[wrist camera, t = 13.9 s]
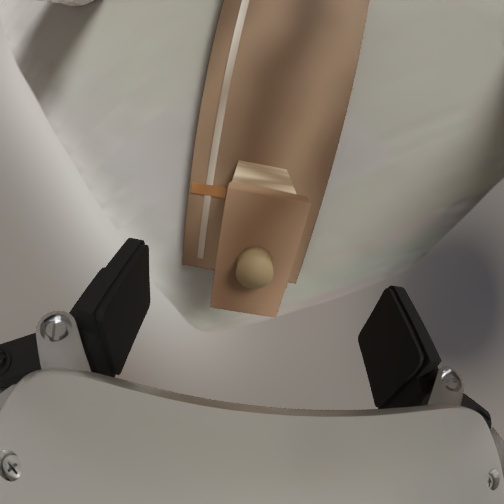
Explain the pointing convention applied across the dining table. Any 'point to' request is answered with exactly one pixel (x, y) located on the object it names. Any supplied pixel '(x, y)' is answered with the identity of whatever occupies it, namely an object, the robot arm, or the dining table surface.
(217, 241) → the marking board
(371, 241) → the dining table surface
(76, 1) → the white cup
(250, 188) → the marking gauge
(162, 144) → the dining table surface
